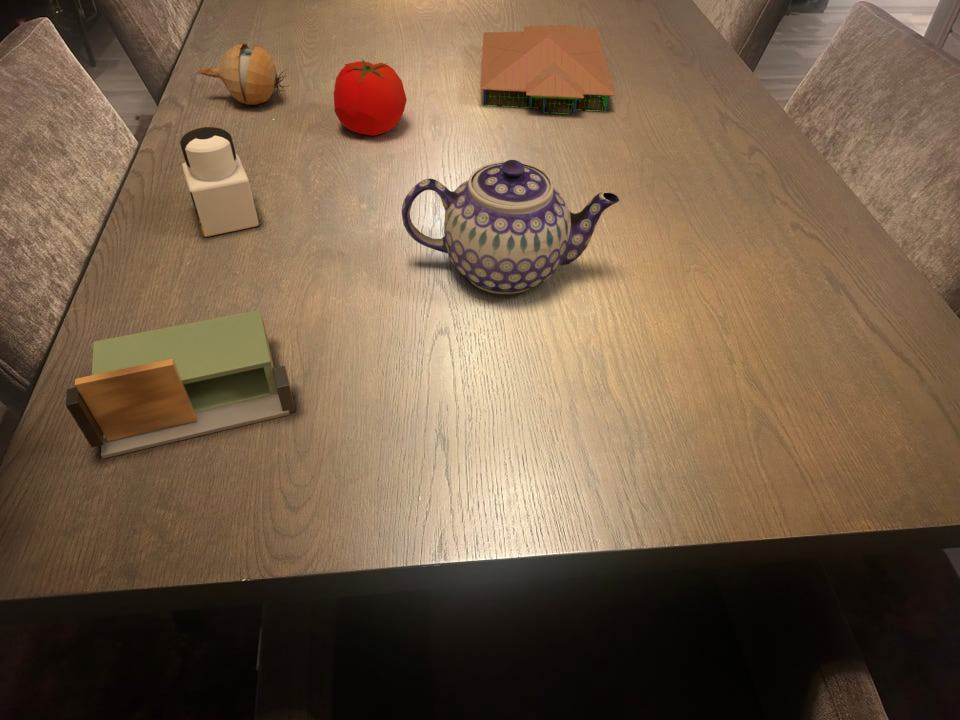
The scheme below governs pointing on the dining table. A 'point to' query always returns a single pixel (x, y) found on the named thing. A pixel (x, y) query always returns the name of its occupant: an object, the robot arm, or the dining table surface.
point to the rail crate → (204, 375)
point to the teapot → (508, 226)
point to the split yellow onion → (247, 74)
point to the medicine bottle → (217, 182)
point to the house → (546, 64)
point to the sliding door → (129, 402)
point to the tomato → (369, 97)
